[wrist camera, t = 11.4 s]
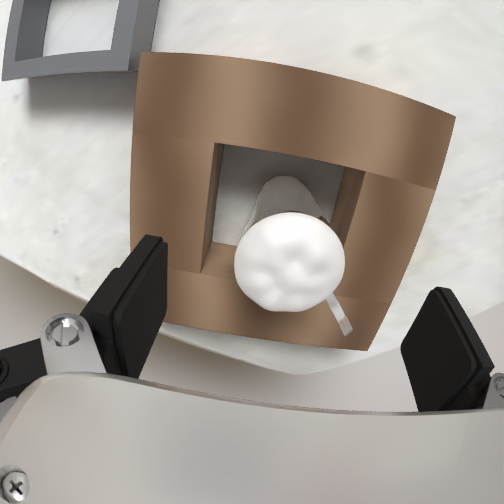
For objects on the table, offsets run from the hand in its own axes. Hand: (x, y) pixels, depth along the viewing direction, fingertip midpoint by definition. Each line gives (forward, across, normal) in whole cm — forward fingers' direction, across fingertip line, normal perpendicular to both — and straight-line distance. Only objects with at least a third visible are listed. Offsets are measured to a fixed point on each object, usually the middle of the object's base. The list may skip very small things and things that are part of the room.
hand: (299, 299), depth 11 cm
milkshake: (+11, 0, +1) cm, 11 cm away
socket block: (+11, +1, +1) cm, 11 cm away
